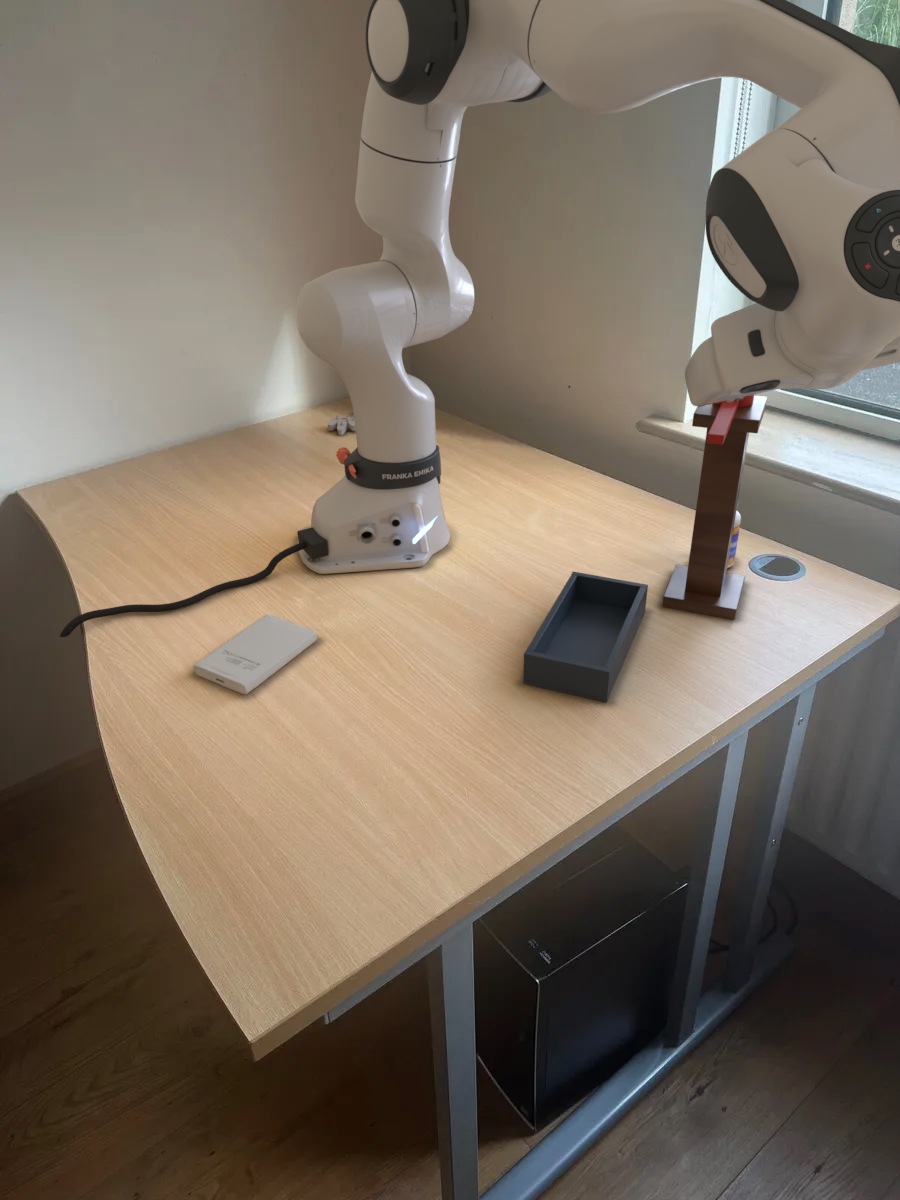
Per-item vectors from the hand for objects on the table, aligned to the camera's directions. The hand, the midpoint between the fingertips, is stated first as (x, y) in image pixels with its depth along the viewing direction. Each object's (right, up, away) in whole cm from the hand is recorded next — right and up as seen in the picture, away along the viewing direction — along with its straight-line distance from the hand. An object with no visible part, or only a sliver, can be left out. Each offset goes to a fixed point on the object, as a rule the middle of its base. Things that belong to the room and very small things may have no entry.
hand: (780, 383), depth 85 cm
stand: (0, -21, +27) cm, 34 cm away
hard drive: (-56, -29, +17) cm, 65 cm away
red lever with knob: (-3, -2, +9) cm, 9 cm away
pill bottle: (+4, -16, +35) cm, 38 cm away
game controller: (-53, +13, +85) cm, 101 cm away
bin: (-16, -27, +18) cm, 36 cm away
